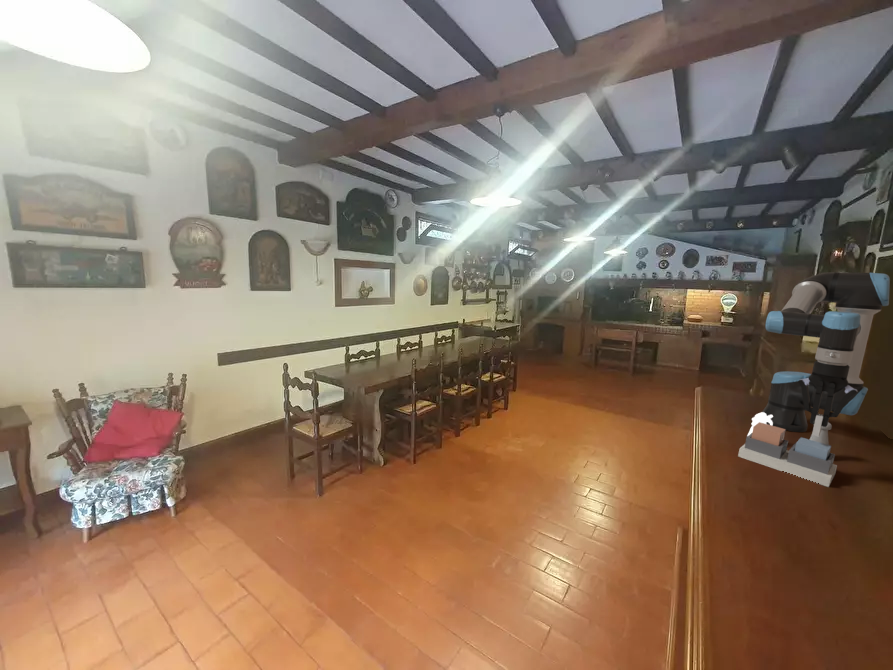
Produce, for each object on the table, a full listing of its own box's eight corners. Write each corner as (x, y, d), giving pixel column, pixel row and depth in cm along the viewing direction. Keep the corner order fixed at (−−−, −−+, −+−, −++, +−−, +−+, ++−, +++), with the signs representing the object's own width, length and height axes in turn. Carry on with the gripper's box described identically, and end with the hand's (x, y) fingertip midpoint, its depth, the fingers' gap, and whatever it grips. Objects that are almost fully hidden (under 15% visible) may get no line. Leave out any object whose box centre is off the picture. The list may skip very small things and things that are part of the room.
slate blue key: (797, 451, 121) (801, 437, 120) (827, 460, 115) (831, 445, 115) (793, 457, 117) (796, 442, 116) (824, 466, 111) (827, 451, 110)
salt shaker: (832, 461, 125) (840, 425, 122) (812, 459, 126) (820, 423, 124) (818, 453, 130) (826, 419, 128) (800, 451, 131) (807, 417, 129)
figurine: (752, 437, 142) (757, 408, 140) (774, 445, 136) (780, 414, 134) (742, 440, 139) (747, 410, 137) (764, 448, 133) (770, 417, 131)
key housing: (749, 446, 134) (752, 428, 132) (835, 473, 116) (840, 453, 115) (738, 456, 126) (741, 437, 125) (828, 487, 109) (833, 465, 107)
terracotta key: (756, 435, 129) (759, 422, 128) (782, 443, 124) (785, 429, 123) (750, 440, 125) (753, 426, 124) (777, 448, 120) (780, 434, 119)
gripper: (800, 359, 114) (785, 430, 118) (862, 369, 103) (844, 446, 108) (805, 356, 118) (791, 424, 122) (865, 365, 108) (847, 439, 112)
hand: (816, 434), depth 115 cm, fingers closed
